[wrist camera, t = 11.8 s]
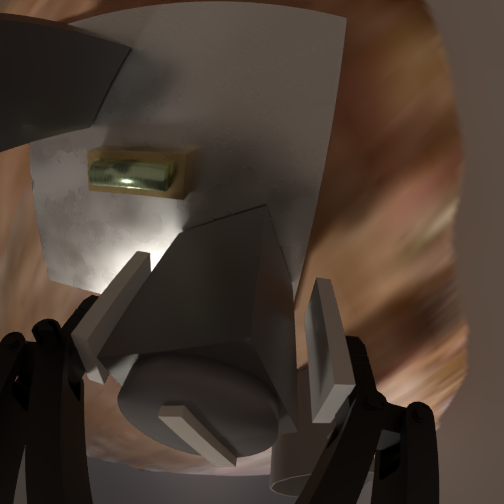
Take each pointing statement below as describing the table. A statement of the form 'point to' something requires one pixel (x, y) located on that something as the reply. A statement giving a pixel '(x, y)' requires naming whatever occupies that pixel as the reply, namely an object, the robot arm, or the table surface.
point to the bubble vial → (141, 171)
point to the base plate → (196, 132)
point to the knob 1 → (51, 77)
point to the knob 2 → (211, 343)
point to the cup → (301, 446)
